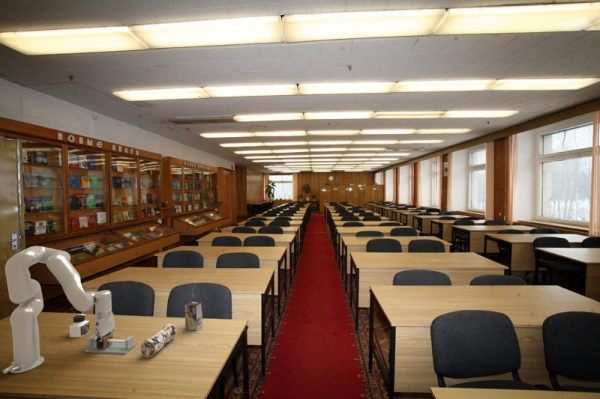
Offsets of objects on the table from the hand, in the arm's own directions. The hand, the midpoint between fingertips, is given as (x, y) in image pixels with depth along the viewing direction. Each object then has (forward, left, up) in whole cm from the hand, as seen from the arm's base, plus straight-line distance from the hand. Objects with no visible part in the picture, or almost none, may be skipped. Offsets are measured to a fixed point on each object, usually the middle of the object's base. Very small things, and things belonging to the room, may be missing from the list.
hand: (104, 344), depth 160 cm
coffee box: (+27, -39, -3) cm, 48 cm away
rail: (0, -3, -2) cm, 4 cm away
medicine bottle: (+13, +28, -3) cm, 31 cm away
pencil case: (+4, -30, -3) cm, 31 cm away
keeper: (0, 0, -1) cm, 1 cm away
